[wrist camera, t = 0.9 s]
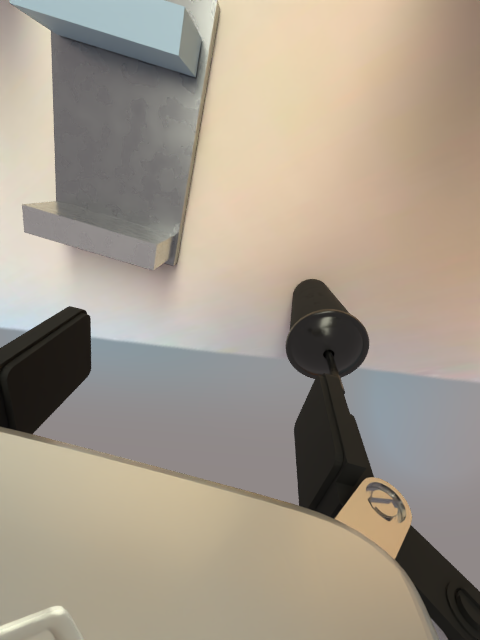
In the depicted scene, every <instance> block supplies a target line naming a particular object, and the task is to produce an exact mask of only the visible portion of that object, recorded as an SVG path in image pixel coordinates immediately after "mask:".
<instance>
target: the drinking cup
mask: <svg viewBox="0 0 480 640" xmlns="http://www.w3.org/2000/svg"><path fill="white" fill-rule="evenodd" d="M368 349H369V337H368V334H367V331H366V329H365V327H364V326H363V324H362V323H361V322H360V321H359V320H358V319H357V318H356V317H354V316H353V315H351V314H350V313H349V312H348V311H347V310H346V309H345V308H344V306H343V305H342V304H341V303H340V302H339V300H338V299H337V298H336V297H335V296H334V295H333V293H332V292H331V291H330V290H329V289H328V287H327V286H326V285H325V284H324V283H323V282H321V281H319V280H316V279H309V280H305V281H303V282H301V283H300V284H299V285H298V286H297V287H296V288H295V290H294V293H293V302H292V313H291V324H290V332H289V334H288V336H287V340H286V353H287V356H288V359H289V361H290V363H291V364H292V365H293V367H294V368H295V369H296V370H298V371H299V372H300V373H302V374H303V375H305V376H307V377H310V378H313V379H316V377H317V376H318V375H319V376H321V375H322V374H323V373H325V374H329V375H333V376H337V377H338V378H339V380H340V384H341V387H342V390H343V393H344V394H345V391H344V388H343V384H342V382H341V377H343V376H345V375H348V374H350V373H351V372H353V371H354V370H356V369H357V368H358V367H359V366H360V365H361V364H362V362H363V361H364V359H365V357H366V355H367V353H368Z"/></svg>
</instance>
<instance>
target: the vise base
mask: <svg viewBox="0 0 480 640" xmlns="http://www.w3.org/2000/svg"><path fill="white" fill-rule="evenodd" d="M165 1H168V2H172V3H175V4H178V5H181V6H184V7H185V8H186V10H187V12H188V14H189V16H190V18H191V19H192V21H193V23H194V25H195V27H196V29H197V31H198V33H199V35H200V37H201V38H202V39H201V46H200V52H199V59H198V66H197V72H196V77H192V76H189V75H186V74H183V73H180V72H176V71H173V70H170V69H167V68H163V67H160V66H157V65H154V64H150V63H147V62H144V61H141V60H138V59H134V58H131V57H128V56H125V55H121V54H118V53H115V52H112V51H109V50H105V49H102V48H99V47H96V46H92V45H89V44H86V43H83V42H80V41H76V40H73V39H70V38H67V37H63V36H60V35H57V34H55V33H54V32H52V31H51V48H52V79H53V111H54V143H55V174H56V201H53V202H43V203H32V204H22V209H23V221H24V232H25V233H29V234H32V235H35V236H39V237H42V238H46V239H49V240H52V241H56V242H59V243H62V244H66V245H69V246H72V247H76V248H79V249H83V250H86V251H89V252H93V253H96V254H99V255H103V256H106V257H109V258H113V259H116V260H120V261H123V262H126V263H130V264H133V265H136V266H140V267H143V268H146V269H150V270H153V271H154V270H155V269H156V268H158V267H159V266H161V265H162V264H163V263H165V264H169V265H172V266H174V265H175V264H177V261H178V255H179V249H180V243H181V237H182V231H183V225H184V219H185V213H186V208H187V202H188V196H189V190H190V184H191V178H192V172H193V166H194V160H195V154H196V148H197V143H198V137H199V131H200V125H201V119H202V113H203V107H204V101H205V95H206V89H207V84H208V78H209V72H210V66H211V60H212V54H213V48H214V42H215V36H216V30H217V25H218V19H219V13H220V7H219V4H218V1H217V0H165Z"/></svg>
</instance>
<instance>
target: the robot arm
mask: <svg viewBox="0 0 480 640" xmlns="http://www.w3.org/2000/svg"><path fill="white" fill-rule="evenodd" d="M90 371H91V328H90V316H89V315H87V312H86V311H85V310H83V309H79V308H75V307H70V306H69V307H67V308H65V309H64V310H62V311H60V312H59V313H57V314H56V315H54V316H52V317H51V318H49V319H47V320H46V321H44V322H42V323H41V324H39V325H37V326H36V327H34V328H33V329H31V330H29V331H28V332H26V333H25V334H23V335H21V336H19V337H18V338H16V339H15V340H13V341H11V342H10V343H8V344H7V345H5V346H3V347H1V348H0V640H480V592H479V591H478V589H476V588H475V587H474V586H473V585H472V584H471V583H470V582H469V581H468V580H467V579H466V578H465V577H464V576H463V575H462V574H461V573H460V572H459V571H458V570H457V569H456V568H455V567H454V566H453V565H451V563H450V562H449V561H447V560H446V559H445V558H444V557H443V556H442V555H441V554H440V553H439V552H438V551H437V550H436V549H435V548H434V547H433V546H432V545H431V544H430V543H429V542H428V541H427V540H426V539H425V538H424V537H423V536H421V535H420V533H418V532H417V531H416V530H415V529H414V528H413V527H412V526H411V521H412V514H411V510H410V508H409V505H408V503H407V501H406V500H405V499H404V497H403V496H402V495H401V493H400V492H399V491H398V490H397V489H396V488H394V487H393V486H392V485H391V484H389V483H388V482H386V481H384V480H382V479H379V478H374V476H373V473H372V470H371V467H370V463H369V460H368V457H367V454H366V451H365V448H364V445H363V442H362V439H361V436H360V433H359V430H358V427H357V424H356V421H355V418H354V416H353V415H351V414H350V412H349V409H348V406H347V403H346V400H345V397H344V393H343V390H342V387H341V384H340V380H339V378H338V377H337V376H333V375H329V374H325V373H323V374H322V375H321V376H319V375H318V376H317V377H316V379H315V381H314V383H313V385H312V387H311V390H310V392H309V394H308V396H307V398H306V401H305V403H304V405H303V407H302V409H301V412H300V414H299V416H298V418H297V421H296V423H295V427H294V436H295V449H296V465H297V479H298V494H299V506H298V505H295V504H291V503H288V502H284V501H280V500H277V499H274V498H270V497H267V496H263V495H260V494H256V493H253V492H249V491H245V490H242V489H238V488H234V487H231V486H227V485H223V484H220V483H216V482H212V481H208V480H204V479H201V478H197V477H193V476H190V475H186V474H182V473H178V472H175V471H171V470H167V469H163V468H159V467H155V466H152V465H148V464H144V463H141V462H137V461H133V460H129V459H125V458H122V457H118V456H114V455H110V454H107V453H103V452H99V451H95V450H91V449H87V448H83V447H79V446H76V445H72V444H68V443H64V442H60V441H56V440H52V439H48V438H45V437H41V436H37V435H33V433H34V432H35V431H36V430H37V428H39V426H40V425H41V424H42V423H43V422H44V421H45V420H46V419H47V418H48V417H49V416H50V415H51V414H52V413H53V412H54V411H55V410H56V409H57V408H58V407H59V406H60V405H61V404H62V403H63V401H64V400H65V399H66V398H67V397H68V396H69V395H70V394H71V393H72V392H73V391H74V390H75V389H76V388H77V387H78V386H79V385H80V384H81V383H82V382H83V381H84V380H85V379H86V378H87V377H88V375H89V373H90Z"/></svg>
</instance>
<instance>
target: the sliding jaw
mask: <svg viewBox="0 0 480 640" xmlns="http://www.w3.org/2000/svg"><path fill="white" fill-rule="evenodd" d="M9 2H10V4H12V5H13V6H15V7H16V8H18V9H19V10H21V11H22V12H24V13H25V14H27V15H28V16H30V17H31V18H33V19H34V20H36V21H37V22H39V23H40V24H42V25H43V26H45V27H46V28H48V29H49V30H51V31H52V32H54V33H55V34H57V35H60V36H63V37H67V38H70V39H73V40H76V41H80V42H83V43H86V44H89V45H92V46H96V47H99V48H102V49H105V50H109V51H112V52H115V53H118V54H121V55H125V56H128V57H131V58H134V59H138V60H141V61H144V62H147V63H150V64H154V65H157V66H160V67H163V68H167V69H170V70H173V71H176V72H180V73H183V74H186V75H189V76H192V77H196V72H197V66H198V59H199V52H200V46H201V39H202V38H201V37H200V35H199V33H198V31H197V29H196V27H195V25H194V23H193V21H192V19H191V18H190V16H189V14H188V12H187V10H186V8H185V7H184V6H181V5H178V4H175V3H172V2H168V1H165V0H9Z"/></svg>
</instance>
